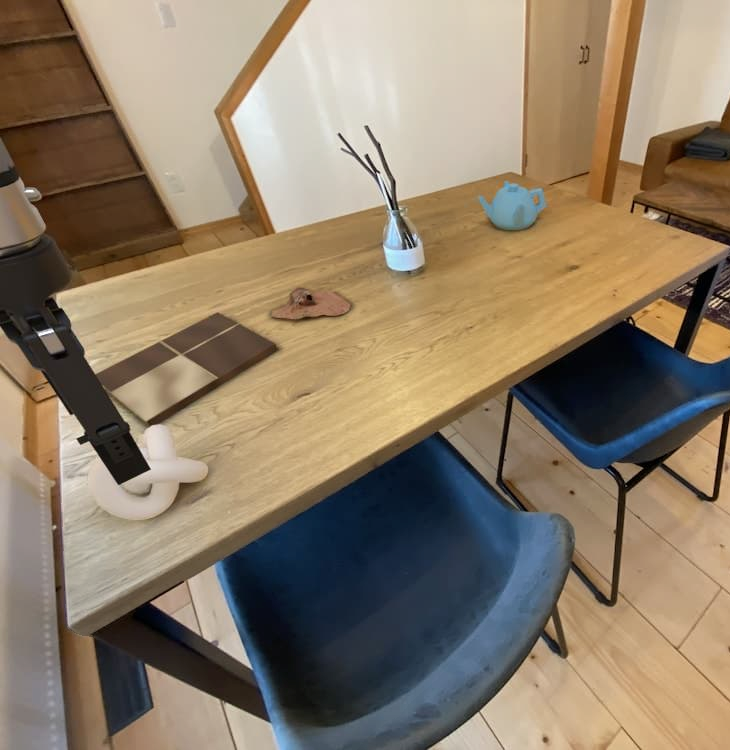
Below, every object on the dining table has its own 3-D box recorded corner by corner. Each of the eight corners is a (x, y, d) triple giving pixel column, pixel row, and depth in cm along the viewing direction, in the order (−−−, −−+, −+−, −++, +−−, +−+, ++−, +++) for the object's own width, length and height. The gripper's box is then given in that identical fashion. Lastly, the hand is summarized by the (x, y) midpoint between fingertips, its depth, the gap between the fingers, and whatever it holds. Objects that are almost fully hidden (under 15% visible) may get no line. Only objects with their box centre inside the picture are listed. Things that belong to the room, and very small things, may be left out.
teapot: (520, 238, 121) (521, 199, 113) (477, 226, 127) (475, 188, 119) (547, 219, 130) (550, 181, 122) (505, 208, 136) (505, 172, 129)
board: (151, 427, 71) (145, 420, 70) (96, 382, 79) (90, 375, 78) (278, 349, 86) (275, 342, 85) (220, 317, 94) (217, 311, 93)
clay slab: (360, 298, 99) (357, 286, 97) (324, 331, 90) (320, 319, 88) (307, 287, 103) (303, 275, 101) (267, 317, 94) (262, 305, 92)
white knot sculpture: (233, 455, 67) (205, 416, 61) (190, 528, 58) (153, 491, 52) (161, 454, 67) (126, 415, 61) (107, 527, 58) (60, 490, 52)
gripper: (106, 286, 30) (202, 485, 42) (7, 191, 41) (106, 371, 54) (-55, 324, 25) (108, 536, 37) (-118, 204, 36) (25, 399, 49)
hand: (107, 439), depth 46 cm, fingers open, 13 cm apart
